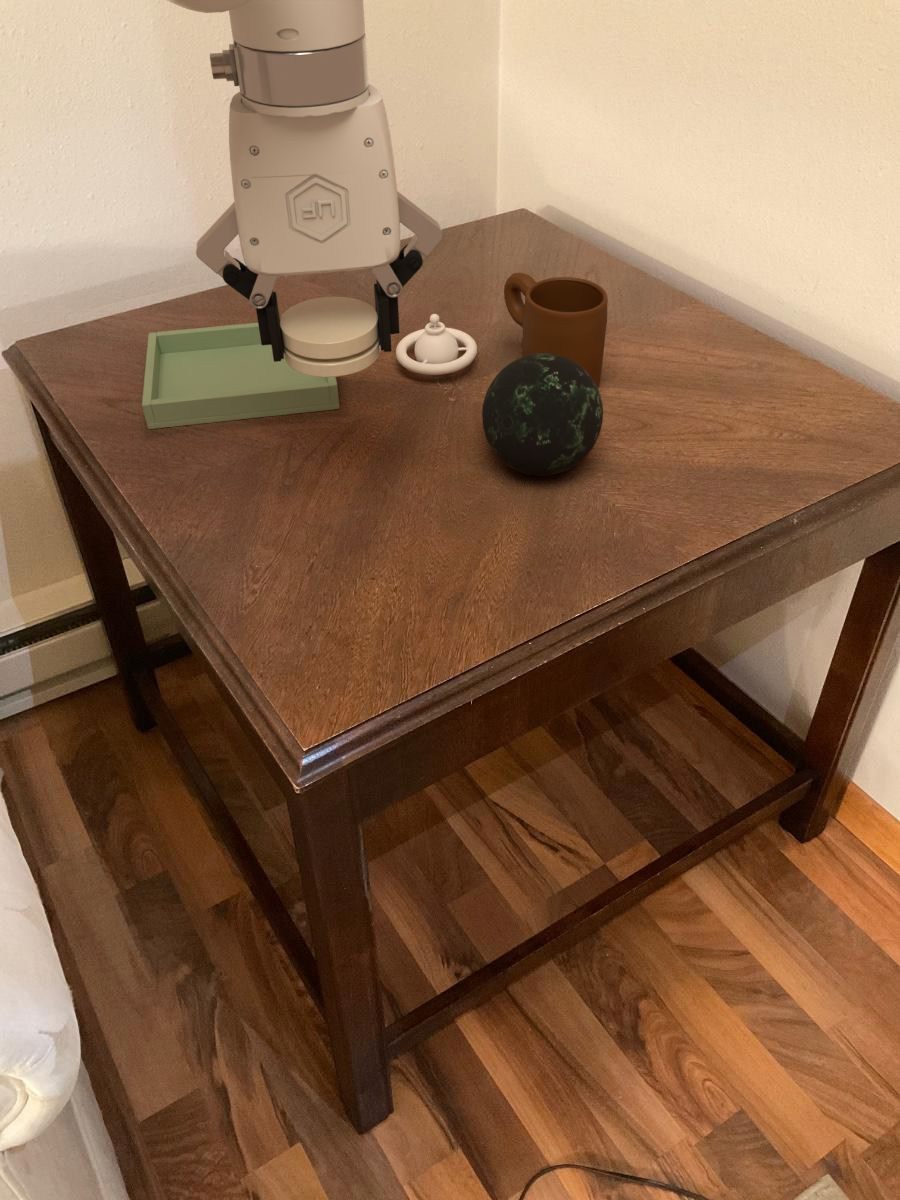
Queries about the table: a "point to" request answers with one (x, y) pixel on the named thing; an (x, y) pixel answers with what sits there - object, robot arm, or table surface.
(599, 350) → the mug
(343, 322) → the beige round container
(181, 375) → the tray
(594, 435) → the decorative stone
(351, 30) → the robot arm
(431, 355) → the ring around a ball
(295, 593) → the table surface
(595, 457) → the table surface
